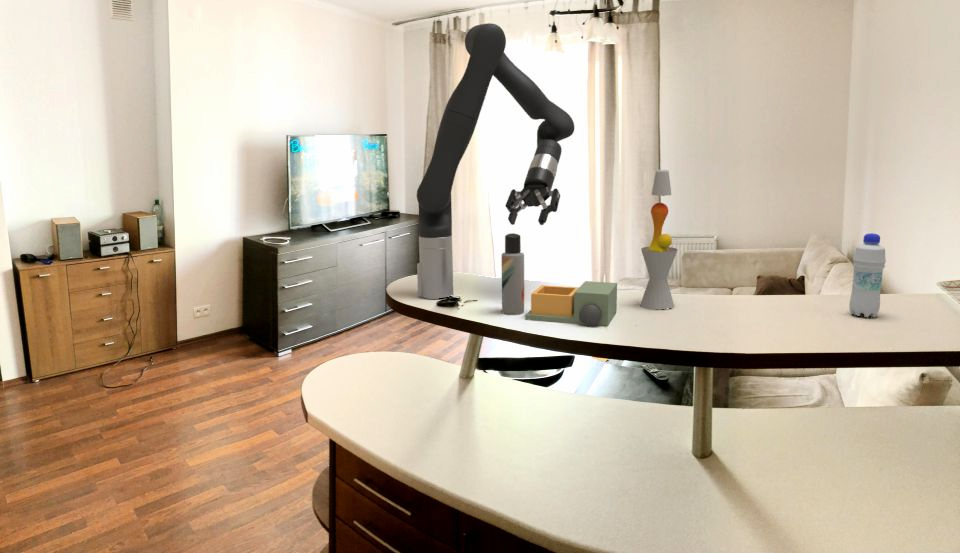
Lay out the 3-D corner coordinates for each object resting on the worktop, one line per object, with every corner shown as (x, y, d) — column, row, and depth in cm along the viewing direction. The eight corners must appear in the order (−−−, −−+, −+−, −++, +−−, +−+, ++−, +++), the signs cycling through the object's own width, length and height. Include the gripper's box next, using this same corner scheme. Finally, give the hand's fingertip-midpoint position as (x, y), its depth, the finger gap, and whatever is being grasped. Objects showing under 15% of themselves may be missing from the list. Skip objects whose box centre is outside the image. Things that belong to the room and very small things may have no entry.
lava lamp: (632, 306, 171) (636, 170, 164) (650, 299, 177) (655, 168, 170) (663, 311, 165) (669, 171, 158) (681, 305, 171) (687, 169, 164)
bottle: (874, 312, 160) (883, 231, 156) (883, 319, 154) (892, 235, 150) (844, 311, 162) (852, 231, 158) (851, 318, 156) (860, 235, 152)
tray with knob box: (523, 321, 158) (523, 290, 157) (540, 305, 173) (541, 277, 171) (606, 327, 151) (607, 295, 150) (617, 310, 166) (618, 281, 165)
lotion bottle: (523, 309, 170) (522, 232, 166) (525, 314, 164) (525, 235, 160) (501, 309, 169) (500, 232, 165) (502, 315, 164) (502, 236, 160)
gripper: (513, 166, 180) (496, 214, 173) (561, 164, 173) (545, 214, 166) (522, 183, 185) (507, 230, 179) (569, 182, 178) (555, 231, 171)
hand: (525, 223), depth 172 cm, fingers open, 8 cm apart
